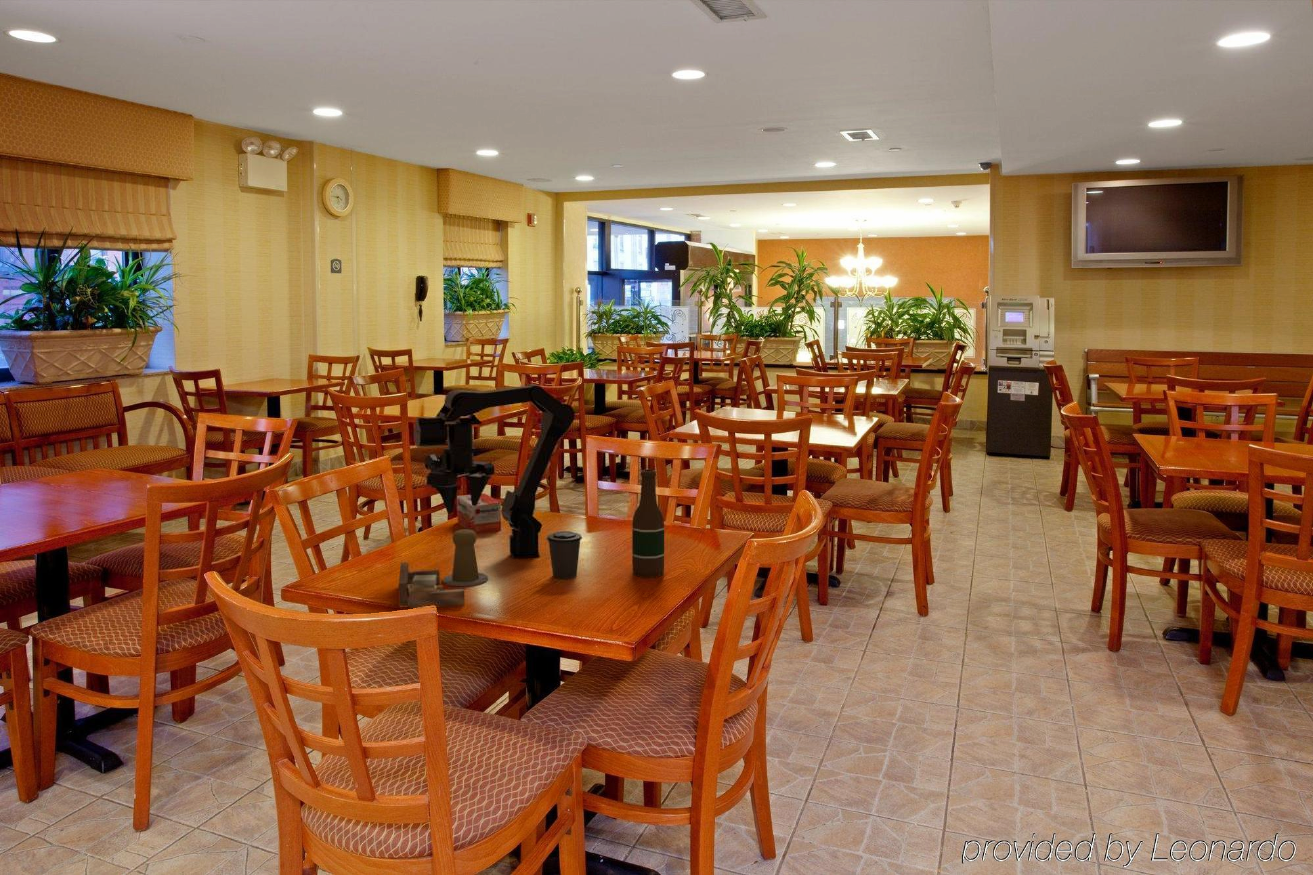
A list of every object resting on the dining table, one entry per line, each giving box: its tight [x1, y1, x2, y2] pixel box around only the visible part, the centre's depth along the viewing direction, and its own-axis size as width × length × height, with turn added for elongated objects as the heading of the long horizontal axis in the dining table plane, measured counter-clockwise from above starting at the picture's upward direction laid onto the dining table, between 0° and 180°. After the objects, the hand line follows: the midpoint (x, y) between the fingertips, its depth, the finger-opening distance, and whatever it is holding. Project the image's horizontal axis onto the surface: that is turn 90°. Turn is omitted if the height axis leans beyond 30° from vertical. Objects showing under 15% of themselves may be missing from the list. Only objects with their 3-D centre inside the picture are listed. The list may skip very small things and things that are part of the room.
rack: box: [398, 561, 466, 609], centre depth 204 cm, size 13×17×5 cm
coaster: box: [442, 572, 489, 588], centre depth 214 cm, size 10×10×1 cm
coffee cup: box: [546, 530, 583, 580], centre depth 217 cm, size 8×8×10 cm
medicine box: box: [456, 492, 502, 534], centre depth 264 cm, size 15×8×8 cm, turn 28°
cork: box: [451, 528, 479, 582], centre depth 214 cm, size 6×6×11 cm
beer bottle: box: [631, 469, 665, 578], centre depth 219 cm, size 8×8×24 cm
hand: (462, 509), depth 227 cm, fingers open, 9 cm apart
